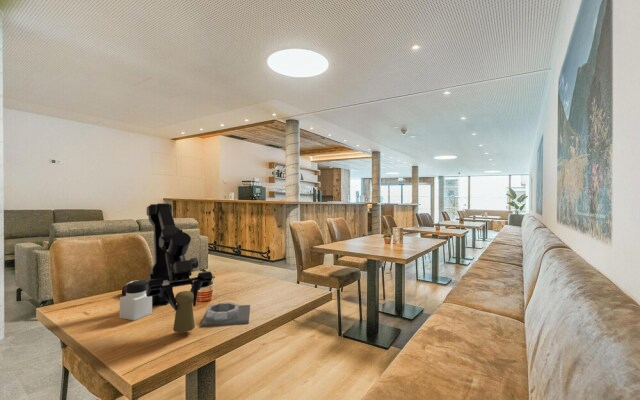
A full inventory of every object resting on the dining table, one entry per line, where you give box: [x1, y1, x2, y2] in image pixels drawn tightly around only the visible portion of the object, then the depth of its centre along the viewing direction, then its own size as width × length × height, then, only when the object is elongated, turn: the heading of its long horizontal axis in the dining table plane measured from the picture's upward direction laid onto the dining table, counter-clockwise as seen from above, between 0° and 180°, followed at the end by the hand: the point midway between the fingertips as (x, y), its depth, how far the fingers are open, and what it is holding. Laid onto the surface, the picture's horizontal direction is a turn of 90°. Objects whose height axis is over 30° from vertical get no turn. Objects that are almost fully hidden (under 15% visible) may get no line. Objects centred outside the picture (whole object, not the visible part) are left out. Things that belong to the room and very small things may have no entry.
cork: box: [172, 290, 196, 333], centre depth 92 cm, size 6×6×11 cm
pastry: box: [121, 279, 148, 297], centre depth 131 cm, size 11×12×6 cm
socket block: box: [200, 301, 251, 327], centre depth 106 cm, size 15×15×4 cm
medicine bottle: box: [119, 279, 153, 322], centre depth 106 cm, size 7×7×12 cm
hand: (185, 307), depth 91 cm, fingers closed on cork, 5 cm apart
